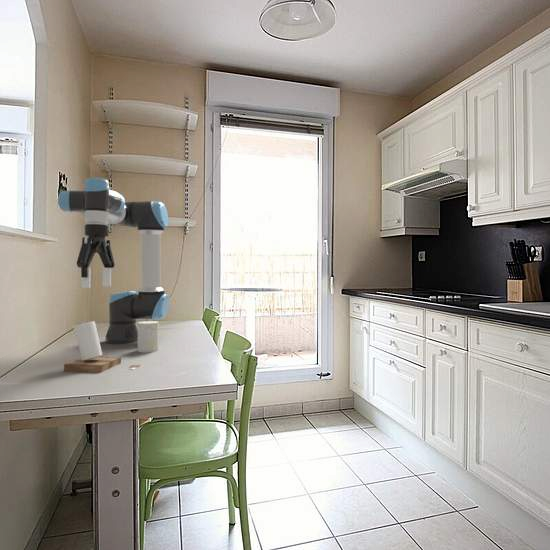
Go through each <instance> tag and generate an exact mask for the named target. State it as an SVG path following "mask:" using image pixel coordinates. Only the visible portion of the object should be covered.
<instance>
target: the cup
mask: <svg viewBox="0 0 550 550" xmlns="http://www.w3.org/2000/svg"><path fill="white" fill-rule="evenodd" d="M159 324H160V323H159V321H156V320H155V321H154V320H146V321H145V320H143V321H138V322H137V329H138V341H137V352H138V353H154V352H158V351H159V333H160V332H159V329H160V328H159V326H160V325H159Z"/></svg>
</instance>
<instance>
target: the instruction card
mask: <svg viewBox="0 0 550 550" xmlns="http://www.w3.org/2000/svg"><path fill="white" fill-rule="evenodd" d="M139 367H141V364H131V365H130V366H128V370H136V369H137V368H139ZM119 372H126V370H125V369H124V368H121V369H119Z"/></svg>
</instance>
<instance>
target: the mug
mask: <svg viewBox="0 0 550 550" xmlns="http://www.w3.org/2000/svg"><path fill="white" fill-rule="evenodd" d="M73 329H74V333H75V337H76V341H77V343H78V344H77V345H78V348H79V352H80V355H81V358H82V359H83V361H86V360H89V359H93V358H96V357H103V351H102V347H101V343H100V338H99V334H98V329H97V325H96V321H95V320H93V321H87V322H83V323H80V324H77V325H74V326H73Z"/></svg>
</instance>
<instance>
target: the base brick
mask: <svg viewBox="0 0 550 550" xmlns="http://www.w3.org/2000/svg"><path fill="white" fill-rule="evenodd" d="M121 363H122V357H121V356H120V357H117V356H100V357H96V358H93V359H89V360H86V361H83V359H82V357H81V358H78V359H75V360H73V361H69V362H67V363H64V364H63V372H71V373H73V372H75V373H77V372H78V373H103V372H105V371H107V370H110V369H111V368H113V367H116V366H118V365H120V364H121Z"/></svg>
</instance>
